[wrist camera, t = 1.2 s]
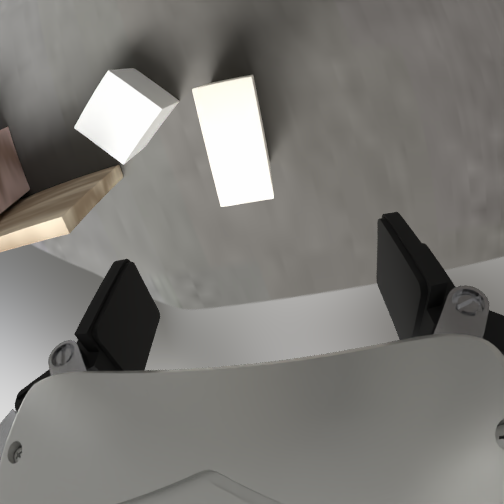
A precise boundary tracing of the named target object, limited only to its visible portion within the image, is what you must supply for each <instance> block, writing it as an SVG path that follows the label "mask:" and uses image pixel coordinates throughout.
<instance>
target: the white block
mask: <svg viewBox="0 0 504 504" xmlns="http://www.w3.org/2000/svg"><path fill="white" fill-rule="evenodd" d="M192 92H193V96H194V100H195V104H196V109H197V113H198V117H199V121H200V125H201V129H202V133H203V137H204V142H205V146H206V150H207V154H208V158H209V162H210V166H211V170H212V174H213V178H214V182H215V186H216V190H217V194H218V198H219V202H220V205H221V207H225V206H231V205H237V204H243V203H249V202H255V201H261V200H267V199H274V192H273V184H272V176H271V168H270V161H269V155H268V149H267V144H266V138H265V133H264V128H263V122H262V117H261V112H260V106H259V101H258V96H257V91H256V86H255V81H254V76H253V75H248V76H242V77H237V78H232V79H227V80H222V81H217V82H213V83H209V84H206V85H203V86H200V87H197V88H194V89H192Z"/></svg>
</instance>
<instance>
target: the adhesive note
mask: <svg viewBox="0 0 504 504" xmlns="http://www.w3.org/2000/svg"><path fill="white" fill-rule="evenodd" d="M178 102H179V100H178V99H176V98H175V97H174V96H172V95H171V94H170V93H168V92H167V91H165V90H164V89H163V88H161V87H160V86H159V85H157V84H156V83H154V82H153V81H152V80H150V79H149V78H147V77H146V76H145V75H143V74H142V73H140V72H139V71H138V70H136V69H135V68H128V69H116V70H108V71H107V73H106V74H105V76H104V77H103V79H102V80H101V82H100V84H99V85H98V87H97V88H96V90H95V92H94V93H93V95H92V97H91V98H90V100H89V102H88V103H87V105H86V107H85V109H84V110H83V112H82V114H81V116H80V118H79V119H78V121H77V123H76V125H75V127H74V128H75V129H76V130H78V131H79V132H80V133H82V134H83V135H84V136H86V137H87V138H88V139H90V140H91V141H92V142H94V143H95V144H96V145H98V146H99V147H100V148H102V149H103V150H104V151H106V152H107V153H108V154H110V155H111V156H112V157H114V158H115V159H116V160H118V161H119V162H120V163H122V164H123V165H124V164H125V163H126V162H127V161H129V160H130V159H131V158H132V157H133V156H135V155H136V154H137V153H138V152H139V151H141V150H142V149H143V148H144V147H145V146H146V145H147V144H148V142H149V141H150V139H151V138H152V137H153V135H154V134H155V133H156V131H157V130H158V128H159V127H160V126H161V124H162V123H163V122H164V120H165V119H166V118H167V117H168V115H169V114H170V113H171V111H172V110H173V109H174V107H175V106H176V105H177V104H178Z"/></svg>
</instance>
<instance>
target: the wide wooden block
mask: <svg viewBox="0 0 504 504" xmlns="http://www.w3.org/2000/svg"><path fill="white" fill-rule="evenodd" d="M122 178H123V174H122V171H121V168H120V165H116V166H113V167H110V168H106V169H103V170H100V171H97V172H94V173H91V174H88V175H85V176H82V177H79V178H76V179H73V180H70V181H67V182H65V183H62V184H59V185H56V186H54V187H51V188H48V189H46V190H43V191H41V192H38V193H36V194H33V195H31V196H28V197H26V198H23V199H21V200H18V199H19V198H20V197H21V196H23V195H24V194H25V193H27V192H28V191H29V190H30V187H29V185H28V182H27V180H26V177H25V175H24V172H23V169H22V166H21V164H20V161H19V158H18V155H17V152H16V149H15V146H14V143H13V140H12V137H11V134H10V130H9V127H6V128H4V129H1V130H0V252H3V251H6V250H9V249H13V248H17V247H20V246H24V245H28V244H31V243H35V242H39V241H43V240H47V239H50V238H54V237H58V236H62V235H66V234H70V233H71V231H72V230H73V229H74V228H75V227H76V226H77V225H78V224H79V222H80V221H81V220H82V219H83V218H84V217H85V216H86V215H87V214H88V213H89V212H90V211H91V209H92V208H93V207H94V206H95V205H96V204H97V203H98V202H99V201H100V200H101V199H102V198H103V197H104V196H105V195H106V194H107V193H108V192H109V191H110V190H111V189H112V188H113V187H114V186H115V185H116V184H117V183H118V182H119V181H120V180H121V179H122ZM16 200H18V201H16ZM15 201H16V202H15Z"/></svg>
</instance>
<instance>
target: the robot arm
mask: <svg viewBox="0 0 504 504" xmlns="http://www.w3.org/2000/svg"><path fill="white" fill-rule="evenodd" d="M377 284H378V287H379V289H380V292H381V294H382V296H383V299H384V301H385V304H386V306H387V308H388V311H389V313H390V316H391V318H392V321H393V323H394V326H395V328H396V331H397V334H398V336H399V339H400V340H397V341H392V342H387V343H382V344H377V345H372V346H366V347H361V348H355V349H350V350H344V351H339V352H333V353H327V354H321V355H314V356H308V357H301V358H294V359H286V360H279V361H271V362H262V363H254V364H244V365H234V366H221V367H208V368H194V369H175V370H150V371H149V370H147V371H144V370H145V366H146V363H147V359H148V356H149V352H150V349H151V346H152V342H153V339H154V336H155V332H156V329H157V326H158V323H159V319H160V313H159V310H158V308H157V306H156V304H155V302H154V301H153V299H152V297H151V295H150V293H149V291H148V289H147V287H146V285H145V283H144V281H143V280H142V278H141V276H140V274H139V272H138V270H137V268H136V266H135V264H134V263H133V262H130V260H128V259H124V260H119V261H115V262H114V263H113V264H112V266H111V268H110V269H109V271H108V273H107V275H106V276H105V278H104V280H103V282H102V283H101V285H100V287H99V289H98V291H97V292H96V294H95V296H94V298H93V300H92V301H91V304H90V305H89V307H88V309H87V311H86V313H85V315H84V317H83V318H82V320H81V322H80V324H79V327H78V329H77V331H76V332H75V336H76V337H77V338H78V341H77V343H76V342H75V341H72V340H68V341H64V342H62V343H60V344H59V345H58V346H56V347H55V348H54V350H53V351H52V352H51V354H50V357H49V361H48V363H49V370H48V371H46V372H45V373H44V374H42V375H41V376H40V377H38V378H37V379H36V380H34V381H33V382H32V383H30V384H29V385H28V386H26V387H25V388H24V389H22V390H21V391H20V392H19V393H18V395H17V398H16V402H15V408H16V411H14V410H13V409H12V410H11V411H10V413H9V414H8V415H7V416H6V417H5V419H4V420H3V421H2V422H1V424H0V504H504V316H503V315H500V314H497V313H495V312H492V311H490V310H489V301H488V299H487V297H486V296H485V294H484V293H483V292H481V291H480V290H479V289H477V288H474V287H471V286H459V287H455V286H454V284H453V283H452V281H451V280H450V278H449V277H448V275H447V274H446V272H445V271H444V269H443V268H442V266H441V265H440V263H439V262H438V260H437V259H436V258H435V256H434V255H433V253H432V252H431V251H430V249H429V248H428V246H427V245H426V244H424V243H421V242H420V240H419V239H418V238H417V236H416V235H415V234H414V232H413V231H412V230H411V228H410V227H409V226H408V224H407V223H406V222H405V220H404V219H403V218H402V216H401V215H400V214H399V213H398V212H394V213H388V214H383V215H382V218H381V219H378V247H377Z"/></svg>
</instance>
